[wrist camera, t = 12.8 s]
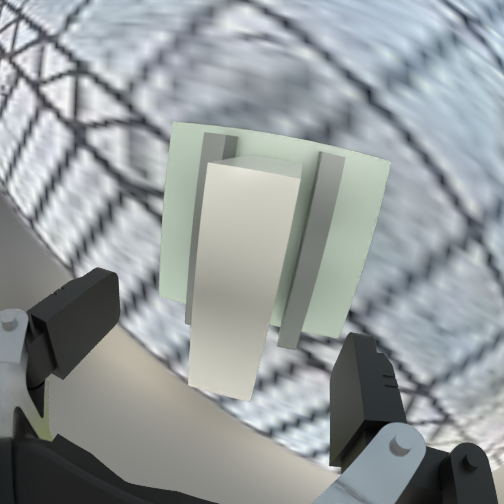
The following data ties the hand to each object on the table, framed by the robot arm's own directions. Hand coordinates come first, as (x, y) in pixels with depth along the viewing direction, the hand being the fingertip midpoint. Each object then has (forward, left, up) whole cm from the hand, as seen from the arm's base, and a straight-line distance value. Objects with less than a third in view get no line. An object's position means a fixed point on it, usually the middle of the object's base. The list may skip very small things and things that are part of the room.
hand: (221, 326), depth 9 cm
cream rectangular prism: (0, 0, -11) cm, 11 cm away
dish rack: (0, 0, -12) cm, 12 cm away
